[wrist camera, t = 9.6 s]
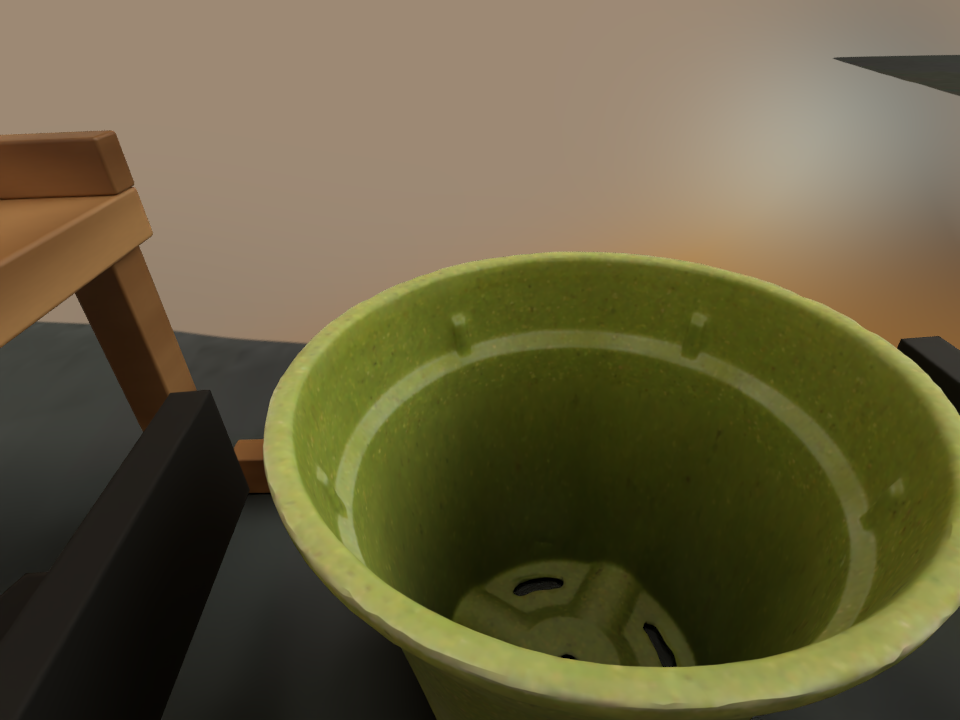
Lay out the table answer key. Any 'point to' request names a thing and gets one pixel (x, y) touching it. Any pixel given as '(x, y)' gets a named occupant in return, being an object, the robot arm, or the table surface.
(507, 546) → the plant pot
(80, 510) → the table surface
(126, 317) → the plant stand
